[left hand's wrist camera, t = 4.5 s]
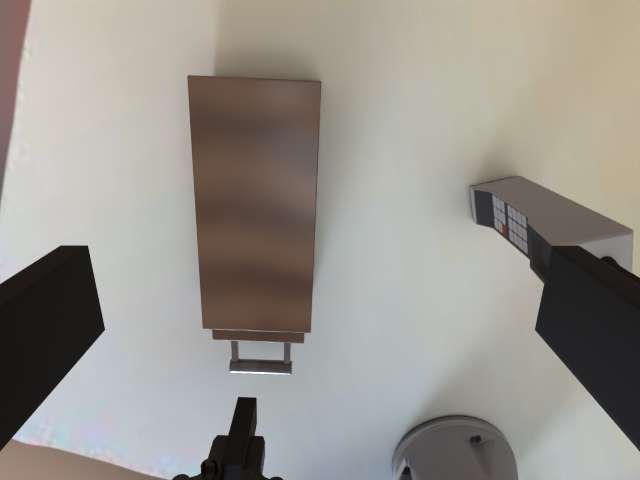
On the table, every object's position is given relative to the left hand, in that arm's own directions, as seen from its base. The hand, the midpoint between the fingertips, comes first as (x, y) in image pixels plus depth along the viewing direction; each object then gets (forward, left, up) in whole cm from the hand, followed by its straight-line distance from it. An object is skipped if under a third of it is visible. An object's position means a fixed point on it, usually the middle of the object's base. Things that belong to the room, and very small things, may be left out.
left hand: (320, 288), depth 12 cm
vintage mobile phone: (+9, +16, -31) cm, 36 cm away
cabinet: (+4, -6, -31) cm, 32 cm away
